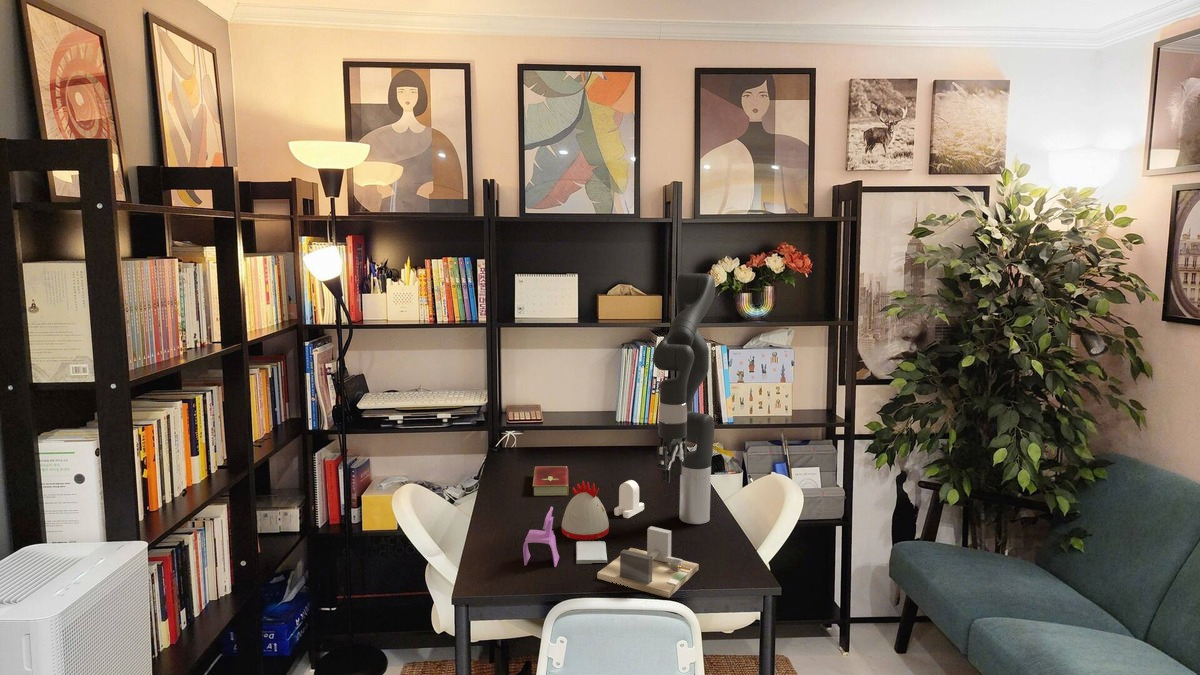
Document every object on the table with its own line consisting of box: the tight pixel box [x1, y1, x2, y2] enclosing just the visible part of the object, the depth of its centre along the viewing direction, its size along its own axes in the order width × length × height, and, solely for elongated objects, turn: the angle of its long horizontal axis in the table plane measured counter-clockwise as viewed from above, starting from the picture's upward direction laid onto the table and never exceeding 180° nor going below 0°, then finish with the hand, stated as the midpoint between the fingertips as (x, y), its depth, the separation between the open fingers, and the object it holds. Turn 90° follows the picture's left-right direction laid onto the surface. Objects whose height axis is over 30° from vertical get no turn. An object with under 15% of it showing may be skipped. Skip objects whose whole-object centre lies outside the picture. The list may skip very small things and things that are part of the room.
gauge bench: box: [597, 547, 700, 599], centre depth 194 cm, size 18×20×8 cm
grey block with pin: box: [670, 559, 690, 571], centre depth 193 cm, size 2×5×2 cm, turn 60°
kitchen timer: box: [561, 480, 610, 541], centre depth 221 cm, size 14×14×15 cm
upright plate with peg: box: [646, 525, 684, 565], centre depth 195 cm, size 7×10×8 cm
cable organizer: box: [613, 479, 645, 519], centre depth 237 cm, size 5×10×10 cm, turn 145°
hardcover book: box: [532, 465, 570, 497], centre depth 262 cm, size 12×21×4 cm, turn 3°
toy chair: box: [522, 506, 560, 568], centre depth 200 cm, size 8×9×15 cm
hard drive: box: [575, 540, 608, 565], centre depth 206 cm, size 2×8×12 cm
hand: (671, 478), depth 202 cm, fingers open, 7 cm apart
